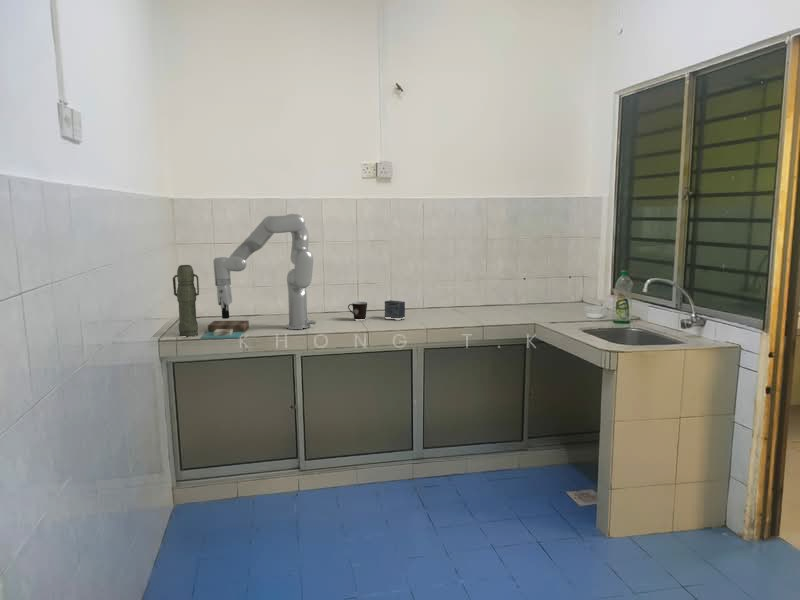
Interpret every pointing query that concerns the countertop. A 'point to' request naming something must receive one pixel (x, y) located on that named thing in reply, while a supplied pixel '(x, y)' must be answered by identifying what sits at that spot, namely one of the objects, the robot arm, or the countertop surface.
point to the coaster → (223, 332)
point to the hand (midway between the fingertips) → (225, 318)
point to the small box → (394, 309)
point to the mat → (211, 335)
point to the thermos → (186, 300)
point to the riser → (229, 325)
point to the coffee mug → (359, 309)
